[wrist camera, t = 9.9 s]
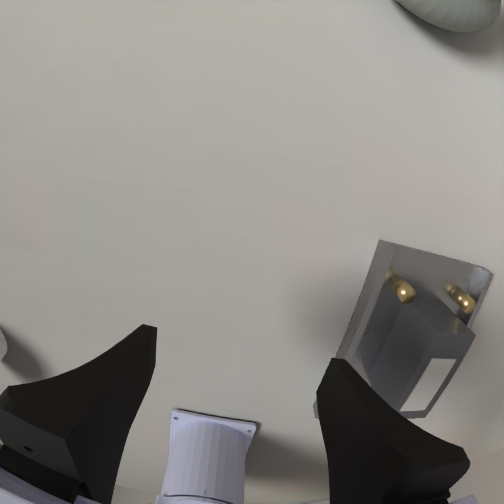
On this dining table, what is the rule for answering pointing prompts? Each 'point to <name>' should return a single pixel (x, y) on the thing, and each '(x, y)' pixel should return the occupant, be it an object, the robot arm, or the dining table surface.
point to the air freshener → (455, 13)
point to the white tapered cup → (2, 345)
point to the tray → (407, 298)
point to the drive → (420, 357)
